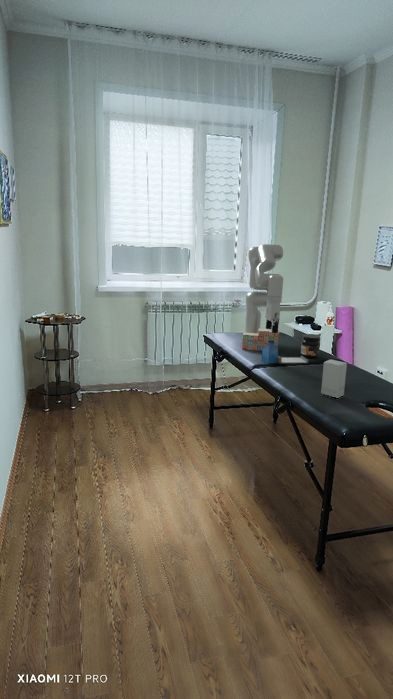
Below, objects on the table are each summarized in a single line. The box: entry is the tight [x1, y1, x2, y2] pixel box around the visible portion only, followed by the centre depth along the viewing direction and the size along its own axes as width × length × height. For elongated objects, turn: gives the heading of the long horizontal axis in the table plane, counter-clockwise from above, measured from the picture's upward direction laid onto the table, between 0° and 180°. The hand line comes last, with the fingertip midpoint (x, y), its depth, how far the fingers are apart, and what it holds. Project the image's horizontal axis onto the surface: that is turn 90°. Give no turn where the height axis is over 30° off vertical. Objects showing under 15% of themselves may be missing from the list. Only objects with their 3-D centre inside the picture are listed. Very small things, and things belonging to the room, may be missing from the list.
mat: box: [280, 355, 309, 364], centre depth 254 cm, size 9×16×2 cm, turn 100°
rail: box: [278, 355, 283, 364], centre depth 253 cm, size 10×1×3 cm, turn 10°
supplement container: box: [300, 333, 321, 359], centre depth 264 cm, size 10×10×12 cm
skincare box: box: [320, 359, 348, 399], centre depth 201 cm, size 8×7×16 cm
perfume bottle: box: [261, 340, 279, 365], centre depth 250 cm, size 6×6×12 cm
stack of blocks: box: [241, 328, 281, 352], centre depth 274 cm, size 21×6×12 cm, turn 84°
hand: (271, 330), depth 246 cm, fingers open, 9 cm apart
